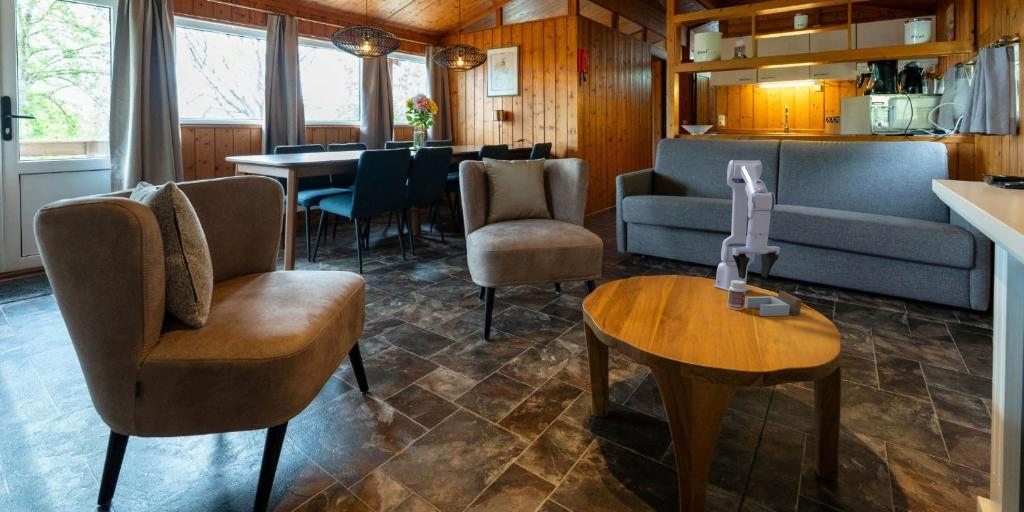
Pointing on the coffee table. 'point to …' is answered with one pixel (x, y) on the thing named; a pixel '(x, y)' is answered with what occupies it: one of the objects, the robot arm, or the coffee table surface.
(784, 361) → the coffee table surface
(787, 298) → the wall
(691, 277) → the coffee table surface
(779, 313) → the cradle
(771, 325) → the coffee table surface
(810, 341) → the coffee table surface
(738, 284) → the pill bottle
